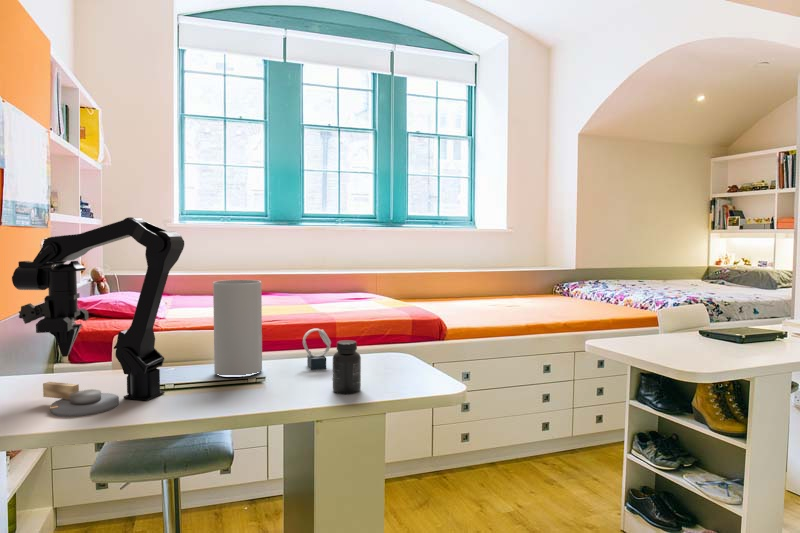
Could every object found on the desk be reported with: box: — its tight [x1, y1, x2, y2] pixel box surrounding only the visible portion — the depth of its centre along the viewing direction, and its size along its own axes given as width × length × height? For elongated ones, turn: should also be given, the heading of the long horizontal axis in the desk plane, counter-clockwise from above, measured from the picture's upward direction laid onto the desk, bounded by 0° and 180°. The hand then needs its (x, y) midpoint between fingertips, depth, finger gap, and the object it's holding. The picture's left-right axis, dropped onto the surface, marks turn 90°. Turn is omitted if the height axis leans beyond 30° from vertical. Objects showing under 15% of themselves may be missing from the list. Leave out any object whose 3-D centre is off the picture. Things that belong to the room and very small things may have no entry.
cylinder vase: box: [212, 279, 263, 375], centre depth 151 cm, size 12×12×25 cm
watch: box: [302, 328, 332, 371], centre depth 159 cm, size 6×8×11 cm
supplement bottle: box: [332, 339, 362, 395], centre depth 136 cm, size 7×7×12 cm
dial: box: [42, 381, 102, 405], centre depth 123 cm, size 14×6×3 cm, turn 76°
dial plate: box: [49, 392, 120, 418], centre depth 122 cm, size 13×13×1 cm
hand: (65, 356), depth 131 cm, fingers closed
